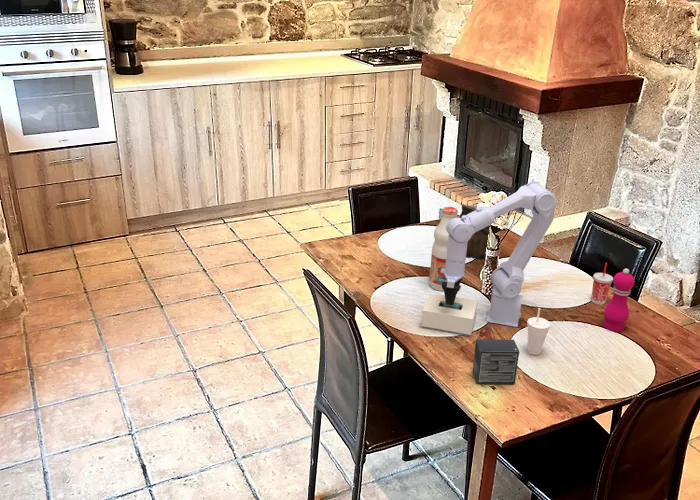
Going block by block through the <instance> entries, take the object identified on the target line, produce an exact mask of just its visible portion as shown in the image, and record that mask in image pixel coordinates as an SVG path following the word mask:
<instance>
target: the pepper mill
mask: <svg viewBox="0 0 700 500" xmlns="http://www.w3.org/2000/svg"><path fill="white" fill-rule="evenodd" d="M612 283H613V287H612V292H613V295H612V298H611V300H610V301H609V302H608V304H606V306H605V308H604V310H603V317H604V319H603V321H602V322H603V323H602V324H603V325H602V326H603V327H604V328H605V329H607V330H608V331H610V332H617V333H619V332H623V331H624V330H625V326H626V322H628V320H629V317H630V310H629V306H628V296H629V295H630V294H631V291H632V290H631V289H632V288H633V287H634V285H635V277H634V276H633V275H632V274H631V273H630V270H629V269H628V268H624V269H623V270H622V271H621V272H617V273H616V274H615V275H614V276H613V280H612Z"/></svg>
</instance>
